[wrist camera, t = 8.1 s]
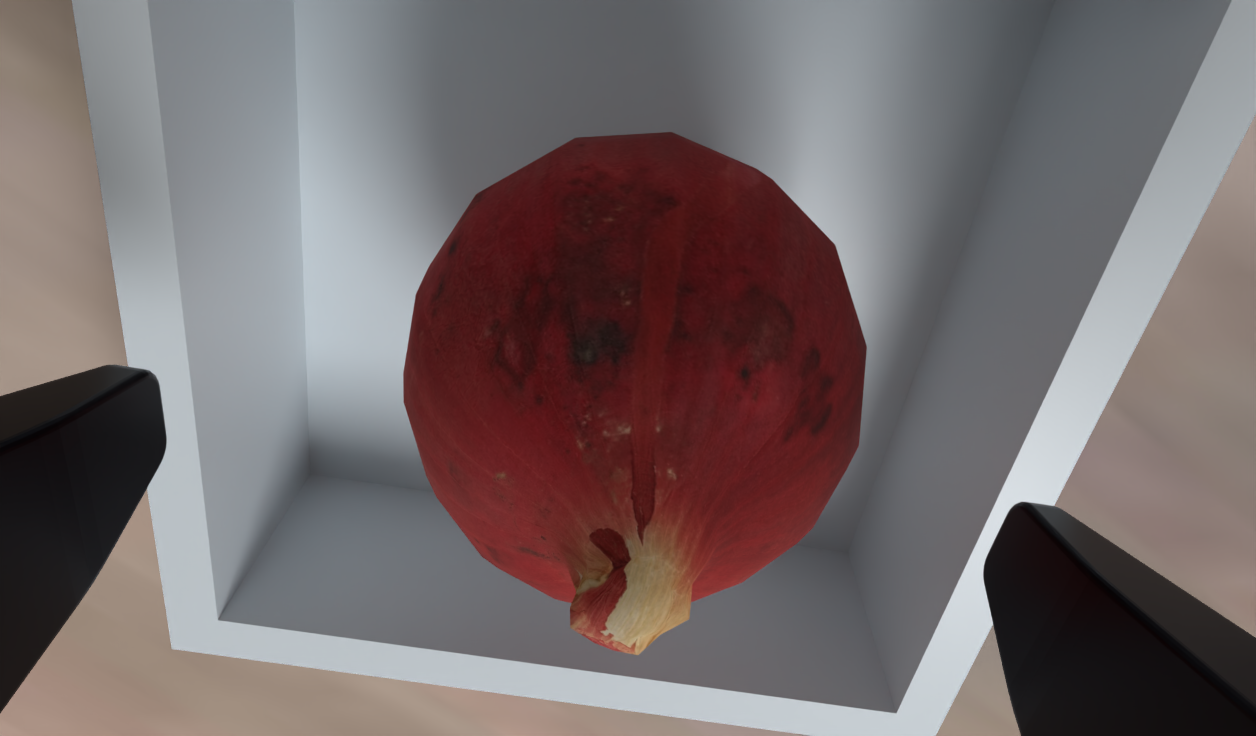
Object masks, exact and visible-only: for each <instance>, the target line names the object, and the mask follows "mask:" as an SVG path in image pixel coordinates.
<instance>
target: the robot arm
mask: <svg viewBox="0 0 1256 736" xmlns="http://www.w3.org/2000/svg"><path fill="white" fill-rule="evenodd" d="M166 444H167V436H166V428H165V421H164V413H163V406H162V398H161V391H160V385H159V381H158V379H157V377H156V375H154V374H153V373H152V372H151V371H149V370H146V369H140V368H134V367H127V366H120V365H106V366H102V367H98V368H95V369H92V370H88V371H85V372H81V373H78V374H74V375H71V376H68V377H64V378H61V379H57V380H54V381H50V382H47V383H44V384H40V385H37V386H33V387H30V388H26V389H23V390H20V391H16V392H13V393H9V394H6V395H3V396H0V713H1V712H2V710H3V709H4V707H5V706H6V705H7V703H8V702H9V701H10V699H11V698H12V696H13V695H14V694H15V692H16V691H17V689H18V688H19V687H20V685H21V684H22V682H23V681H24V680H25V678H26V677H27V675H28V674H29V673H30V671H31V670H32V668H33V667H34V666H35V664H36V663H37V662H38V660H39V659H40V657H41V656H42V655H43V653H44V652H45V650H46V649H47V648H48V646H49V645H50V643H51V642H52V641H53V639H54V638H55V636H56V635H57V634H58V632H59V631H60V629H61V628H62V627H63V625H64V624H65V622H66V621H67V620H68V618H69V617H70V616H71V614H72V613H73V611H74V610H75V609H76V607H77V606H78V604H79V603H80V601H81V600H82V598H83V597H84V596H85V594H86V593H87V591H88V590H89V588H90V587H91V585H92V584H93V582H94V580H95V579H96V577H97V575H98V574H99V572H100V571H101V569H102V567H103V566H104V564H105V562H106V560H107V559H108V557H109V555H110V553H111V551H112V550H113V548H114V546H115V544H116V543H117V541H118V539H119V537H120V535H121V534H122V532H123V530H124V528H125V527H126V525H127V523H128V521H129V519H130V518H131V516H132V514H133V512H134V511H135V509H136V507H137V505H138V503H139V502H140V500H141V498H142V496H143V494H144V493H145V491H146V489H147V487H148V486H149V484H150V482H151V480H152V478H153V477H154V475H155V473H156V471H157V470H158V468H159V466H160V464H161V462H162V460H163V457H164V454H165V450H166ZM983 579H984V585H985V590H986V594H987V599H988V603H989V608H990V612H991V617H992V621H993V625H994V630H995V634H996V639H997V643H998V648H999V652H1000V657H1001V661H1002V666H1003V670H1004V675H1005V679H1006V683H1007V688H1008V692H1009V696H1010V700H1011V703H1012V707H1013V711H1014V714H1015V718H1016V721H1017V724H1018V727H1019V730H1020V734H1021V736H1256V638H1255V637H1254V636H1252V635H1251V634H1249V633H1248V632H1246V631H1245V630H1243V629H1242V628H1240V627H1239V626H1237V625H1236V624H1234V623H1233V622H1231V621H1230V620H1228V619H1226V618H1225V617H1223V616H1222V615H1220V614H1219V613H1217V612H1216V611H1214V610H1213V609H1211V608H1210V607H1208V606H1207V605H1205V604H1204V603H1202V602H1201V601H1199V600H1198V599H1196V598H1195V597H1193V596H1192V595H1190V594H1189V593H1187V592H1186V591H1184V590H1183V589H1181V588H1180V587H1178V586H1177V585H1175V584H1174V583H1172V582H1171V581H1169V580H1168V579H1166V578H1165V577H1163V576H1162V575H1160V574H1159V573H1157V572H1156V571H1154V570H1153V569H1151V568H1149V567H1148V566H1146V565H1145V564H1143V563H1142V562H1140V561H1139V560H1137V559H1136V558H1134V557H1133V556H1131V555H1130V554H1128V553H1127V552H1125V551H1124V550H1122V549H1121V548H1119V547H1118V546H1116V545H1115V544H1113V543H1112V542H1110V541H1109V540H1107V539H1106V538H1104V537H1103V536H1101V535H1100V534H1098V533H1097V532H1095V531H1094V530H1092V529H1091V528H1089V527H1088V526H1086V525H1085V524H1083V523H1082V522H1080V521H1079V520H1077V519H1076V518H1074V517H1072V516H1071V515H1069V514H1068V513H1066V512H1065V511H1063V510H1062V509H1060V508H1058V507H1055V506H1051V505H1045V504H1038V503H1031V502H1019V503H1017V504H1015V505H1014V506H1013V507H1012V508H1011V509H1010V510H1009V512H1008V513H1007V515H1006V517H1005V519H1004V522H1003V524H1002V526H1001V528H1000V530H999V532H998V534H997V536H996V538H995V540H994V542H993V544H992V546H991V548H990V550H989V553H988V555H987V557H986V560H985V563H984V569H983Z"/></svg>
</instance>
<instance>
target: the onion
mask: <svg viewBox="0 0 1256 736" xmlns="http://www.w3.org/2000/svg"><path fill="white" fill-rule="evenodd" d="M866 353H867V345H866V342H865V339H864V336H863V332H862V329H861V326H860V323H859V319H858V316H857V313H856V310H855V307H854V303H853V300H852V297H851V294H850V291H849V287H848V284H847V281H846V278H845V275H844V271H843V268H842V265H841V262H840V259H839V255H838V252H837V249H836V246H835V244H834V243H833V242H832V241H831V240H830V239H829V238H828V237H827V236H826V235H825V234H824V232H823V231H822V230H821V229H820V228H819V227H818V226H817V225H816V224H815V223H814V222H813V221H812V220H811V219H810V218H809V217H808V216H807V215H806V214H805V213H804V212H803V211H802V210H801V209H800V207H799V206H798V205H797V204H796V203H795V202H794V201H793V200H792V199H791V198H790V197H789V196H788V195H787V194H786V193H785V192H784V191H783V190H782V189H781V188H780V187H779V186H778V185H777V184H776V183H775V181H774V180H773V179H771V178H770V177H768V176H767V175H765V174H764V173H762V172H761V171H759V170H758V169H756V168H754V167H752V166H749V165H747V164H745V163H742V162H740V161H738V160H735V159H733V158H731V157H729V156H726V155H724V154H722V153H719V152H717V151H715V150H712V149H710V148H708V147H705V146H703V145H701V144H698V143H696V142H694V141H691V140H689V139H687V138H685V137H682V136H680V135H678V134H675V133H673V132H662V133H645V134H628V135H611V136H594V137H577V138H574V139H572V140H570V141H569V142H567V143H565V144H563V145H562V146H560V147H558V148H556V149H555V150H553V151H551V152H549V153H547V154H546V155H544V156H542V157H540V158H539V159H537V160H535V161H533V162H532V163H530V164H528V165H526V166H525V167H523V168H521V169H519V170H517V171H516V172H514V173H512V174H510V175H509V176H507V177H505V178H503V179H502V180H500V181H498V182H496V183H495V184H493V185H491V186H489V187H488V188H486V189H484V190H482V191H480V192H479V193H477V194H476V195H475V196H474V198H473V200H472V201H471V203H470V204H469V206H468V207H467V209H466V210H465V212H464V213H463V215H462V216H461V218H460V219H459V221H458V223H457V224H456V226H455V227H454V229H453V230H452V232H451V233H450V235H449V236H448V238H447V239H446V241H445V242H444V244H443V246H442V247H441V249H440V250H439V252H438V253H437V255H436V256H435V258H434V259H433V261H432V262H431V264H430V266H429V267H428V269H427V271H426V274H425V276H424V278H423V280H422V282H421V284H420V286H419V288H418V291H417V293H416V296H415V303H414V309H413V315H412V321H411V328H410V334H409V340H408V347H407V353H406V359H405V365H404V372H403V398H404V405H405V408H406V412H407V415H408V418H409V421H410V425H411V428H412V431H413V434H414V438H415V441H416V444H417V447H418V451H419V454H420V457H421V460H422V464H423V467H424V470H425V474H426V476H427V478H428V481H429V483H430V485H431V487H432V489H433V491H434V493H435V495H436V497H437V499H438V500H439V501H440V503H441V504H442V505H443V507H444V508H445V509H446V511H447V512H448V513H449V514H450V516H451V517H452V518H453V520H454V521H455V522H456V524H457V525H458V526H459V528H460V529H461V530H462V532H463V533H464V534H465V535H466V537H467V538H468V539H469V541H470V542H471V543H472V545H473V546H474V547H475V549H476V550H477V551H478V552H479V554H480V555H481V556H482V557H483V558H484V559H486V560H487V561H488V562H490V563H491V564H493V565H494V566H495V567H497V568H498V569H500V570H502V571H504V572H506V573H508V574H509V575H511V576H513V577H515V578H517V579H519V580H520V581H522V582H524V583H526V584H528V585H530V586H531V587H533V588H535V589H537V590H539V591H541V592H542V593H544V594H546V595H548V596H550V597H552V598H553V599H556V600H560V601H564V602H568V603H572V604H571V606H570V628H571V629H573V630H574V631H576V632H578V633H579V634H581V635H582V636H584V637H586V638H587V639H589V640H590V641H592V642H594V643H595V644H598V645H601V646H603V647H606V648H608V649H611V650H613V651H618V652H624V653H629V654H634V655H639V654H640V653H641V652H642V651H643V650H644V649H645V648H647V647H648V646H649V645H650V644H651V643H652V642H653V641H654V640H655V639H656V638H657V637H658V636H660V635H661V634H663V633H665V632H666V631H668V630H670V629H672V628H674V627H676V626H678V625H680V624H681V623H683V622H685V621H687V620H689V617H690V606H691V602H694V601H696V600H699V599H701V598H704V597H706V596H709V595H711V594H714V593H717V592H719V591H722V590H724V589H727V588H730V587H732V586H735V585H737V584H740V583H742V582H744V581H745V580H747V579H748V578H749V577H751V576H752V575H754V574H755V573H756V572H758V571H759V570H761V569H762V568H763V567H765V566H766V565H768V564H769V563H770V562H772V561H773V560H775V559H776V558H777V557H779V556H780V555H782V554H783V553H784V552H786V551H787V550H789V549H790V548H791V547H793V546H794V545H796V544H797V543H798V542H799V541H800V540H801V539H802V538H803V537H804V536H805V535H806V534H807V533H808V532H809V531H810V530H811V529H812V528H813V527H814V525H815V523H816V522H817V520H818V518H819V517H820V515H821V513H822V511H823V510H824V508H825V506H826V504H827V503H828V501H829V499H830V498H831V496H832V494H833V492H834V491H835V489H836V487H837V485H838V484H839V482H840V480H841V479H842V477H843V475H844V473H845V472H846V470H847V468H848V466H849V464H850V462H851V460H852V458H853V456H854V454H855V452H856V451H857V449H858V447H859V439H860V427H861V414H862V402H863V390H864V377H865V365H866Z"/></svg>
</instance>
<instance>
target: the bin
mask: <svg viewBox="0 0 1256 736" xmlns="http://www.w3.org/2000/svg"><path fill="white" fill-rule="evenodd" d="M72 5H73V12H74V18H75V25H76V31H77V38H78V44H79V51H80V57H81V64H82V70H83V77H84V83H85V90H86V96H87V103H88V109H89V115H90V122H91V128H92V135H93V141H94V148H95V154H96V161H97V167H98V174H99V180H100V187H101V193H102V200H103V206H104V213H105V219H106V226H107V232H108V239H109V245H110V251H111V258H112V264H113V271H114V277H115V284H116V290H117V297H118V303H119V310H120V316H121V323H122V329H123V336H124V342H125V349H126V355H127V362H128V367H134V368H140V369H146V370H149V371H151V372H152V373H153V374H154V375H156V377H157V379H158V381H159V385H160V391H161V398H162V406H163V413H164V421H165V428H166V436H167V444H166V450H165V454H164V457H163V460H162V462H161V464H160V466H159V468H158V470H157V471H156V473H155V475H154V477H153V478H152V480H151V482H150V484H149V486H148V487H147V491H148V498H149V504H150V511H151V517H152V523H153V530H154V536H155V543H156V549H157V556H158V562H159V569H160V575H161V582H162V588H163V595H164V601H165V608H166V614H167V621H168V627H169V634H170V640H171V647H172V649H176V650H183V651H191V652H198V653H205V654H213V655H220V656H228V657H235V658H242V659H250V660H257V661H264V662H272V663H279V664H287V665H294V666H301V667H309V668H316V669H324V670H331V671H338V672H346V673H353V674H360V675H368V676H375V677H383V678H390V679H397V680H405V681H412V682H420V683H427V684H434V685H442V686H449V687H456V688H464V689H471V690H479V691H486V692H493V693H501V694H508V695H516V696H523V697H530V698H538V699H545V700H552V701H560V702H567V703H575V704H582V705H589V706H597V707H604V708H611V709H619V710H626V711H634V712H641V713H648V714H656V715H663V716H671V717H678V718H685V719H693V720H700V721H707V722H715V723H722V724H730V725H737V726H744V727H752V728H759V729H767V730H774V731H781V732H789V733H796V734H803V735H811V736H936V734H937V732H938V730H939V728H940V726H941V724H942V722H943V720H944V718H945V717H946V715H947V713H948V711H949V709H950V707H951V705H952V703H953V701H954V699H955V697H956V695H957V693H958V691H959V689H960V687H961V685H962V683H963V682H964V680H965V678H966V676H967V674H968V672H969V670H970V668H971V666H972V664H973V662H974V660H975V658H976V656H977V654H978V652H979V650H980V649H981V647H982V645H983V643H984V641H985V639H986V637H987V635H988V633H989V631H990V629H991V627H992V625H993V621H992V617H991V612H990V608H989V603H988V599H987V594H986V590H985V585H984V579H983V569H984V563H985V560H986V557H987V555H988V553H989V550H990V548H991V546H992V544H993V542H994V540H995V538H996V536H997V534H998V532H999V530H1000V528H1001V526H1002V524H1003V522H1004V519H1005V517H1006V515H1007V513H1008V512H1009V510H1010V509H1011V508H1012V507H1013V506H1014V505H1015V504H1017V503H1019V502H1031V503H1038V504H1045V505H1051V506H1054V505H1055V503H1056V501H1057V499H1058V497H1059V495H1060V493H1061V491H1062V489H1063V487H1064V485H1065V483H1066V481H1067V480H1068V478H1069V476H1070V474H1071V472H1072V470H1073V468H1074V466H1075V464H1076V462H1077V460H1078V458H1079V456H1080V454H1081V452H1082V450H1083V448H1084V447H1085V445H1086V443H1087V441H1088V439H1089V437H1090V435H1091V433H1092V431H1093V429H1094V427H1095V425H1096V423H1097V421H1098V419H1099V417H1100V415H1101V413H1102V412H1103V410H1104V408H1105V406H1106V404H1107V402H1108V400H1109V398H1110V396H1111V394H1112V392H1113V390H1114V388H1115V386H1116V384H1117V382H1118V380H1119V379H1120V377H1121V375H1122V373H1123V371H1124V369H1125V367H1126V365H1127V363H1128V361H1129V359H1130V357H1131V355H1132V353H1133V351H1134V349H1135V347H1136V346H1137V344H1138V342H1139V340H1140V338H1141V336H1142V334H1143V332H1144V330H1145V328H1146V326H1147V324H1148V322H1149V320H1150V318H1151V316H1152V314H1153V312H1154V311H1155V309H1156V307H1157V305H1158V303H1159V301H1160V299H1161V297H1162V295H1163V293H1164V291H1165V289H1166V287H1167V285H1168V283H1169V281H1170V279H1171V278H1172V276H1173V274H1174V272H1175V270H1176V268H1177V266H1178V264H1179V262H1180V260H1181V258H1182V256H1183V254H1184V252H1185V250H1186V248H1187V246H1188V245H1189V243H1190V241H1191V239H1192V237H1193V235H1194V233H1195V231H1196V229H1197V227H1198V225H1199V223H1200V221H1201V219H1202V217H1203V215H1204V213H1205V211H1206V210H1207V208H1208V206H1209V204H1210V202H1211V200H1212V198H1213V196H1214V194H1215V192H1216V190H1217V188H1218V186H1219V184H1220V182H1221V180H1222V178H1223V177H1224V175H1225V173H1226V171H1227V169H1228V167H1229V165H1230V163H1231V161H1232V159H1233V157H1234V155H1235V153H1236V151H1237V149H1238V147H1239V145H1240V144H1241V142H1242V140H1243V138H1244V136H1245V134H1246V132H1247V130H1248V128H1249V126H1250V124H1251V122H1252V120H1253V118H1254V116H1255V114H1256V0H72ZM662 132H673V133H675V134H678V135H680V136H682V137H685V138H687V139H689V140H691V141H694V142H696V143H698V144H701V145H703V146H705V147H708V148H710V149H712V150H715V151H717V152H719V153H722V154H724V155H726V156H729V157H731V158H733V159H735V160H738V161H740V162H742V163H745V164H747V165H749V166H752V167H754V168H756V169H758V170H759V171H761V172H762V173H764V174H765V175H767V176H768V177H770V178H771V179H773V180H774V181H775V183H776V184H777V185H778V186H779V187H780V188H781V189H782V190H783V191H784V192H785V193H786V194H787V195H788V196H789V197H790V198H791V199H792V200H793V201H794V202H795V203H796V204H797V205H798V206H799V207H800V209H801V210H802V211H803V212H804V213H805V214H806V215H807V216H808V217H809V218H810V219H811V220H812V221H813V222H814V223H815V224H816V225H817V226H818V227H819V228H820V229H821V230H822V231H823V232H824V234H825V235H826V236H827V237H828V238H829V239H830V240H831V241H832V242H833V243H834V244H835V246H836V249H837V252H838V255H839V259H840V262H841V265H842V268H843V271H844V275H845V278H846V281H847V284H848V287H849V291H850V294H851V297H852V300H853V303H854V307H855V310H856V313H857V316H858V319H859V323H860V326H861V329H862V332H863V336H864V339H865V342H866V345H867V353H866V365H865V377H864V390H863V402H862V414H861V427H860V439H859V447H858V449H857V451H856V452H855V454H854V456H853V458H852V460H851V462H850V464H849V466H848V468H847V470H846V472H845V473H844V475H843V477H842V479H841V480H840V482H839V484H838V485H837V487H836V489H835V491H834V492H833V494H832V496H831V498H830V499H829V501H828V503H827V504H826V506H825V508H824V510H823V511H822V513H821V515H820V517H819V518H818V520H817V522H816V523H815V525H814V527H813V528H812V529H811V530H810V531H809V532H808V533H807V534H806V535H805V536H804V537H803V538H802V539H801V540H800V541H799V542H798V543H797V544H796V545H794V546H793V547H791V548H790V549H789V550H787V551H786V552H784V553H783V554H782V555H780V556H779V557H777V558H776V559H775V560H773V561H772V562H770V563H769V564H768V565H766V566H765V567H763V568H762V569H761V570H759V571H758V572H756V573H755V574H754V575H752V576H751V577H749V578H748V579H747V580H745V581H744V582H742V583H740V584H737V585H735V586H732V587H730V588H727V589H724V590H722V591H719V592H717V593H714V594H711V595H709V596H706V597H704V598H701V599H699V600H696V601H694V602H691V606H690V617H689V620H687V621H685V622H683V623H681V624H680V625H678V626H676V627H674V628H672V629H670V630H668V631H666V632H665V633H663V634H661V635H660V636H658V637H657V638H656V639H655V640H654V641H653V642H652V643H651V644H650V645H649V646H648V647H647V648H645V649H644V650H643V651H642V652H641V653H640V654H639V655H634V654H629V653H624V652H618V651H613V650H611V649H608V648H606V647H603V646H601V645H598V644H595V643H594V642H592V641H590V640H589V639H587V638H586V637H584V636H582V635H581V634H579V633H578V632H576V631H574V630H573V629H571V628H570V606H571V604H572V603H568V602H564V601H560V600H556V599H553V598H552V597H550V596H548V595H546V594H544V593H542V592H541V591H539V590H537V589H535V588H533V587H531V586H530V585H528V584H526V583H524V582H522V581H520V580H519V579H517V578H515V577H513V576H511V575H509V574H508V573H506V572H504V571H502V570H500V569H498V568H497V567H495V566H494V565H493V564H491V563H490V562H488V561H487V560H486V559H484V558H483V557H482V556H481V555H480V554H479V552H478V551H477V550H476V549H475V547H474V546H473V545H472V543H471V542H470V541H469V539H468V538H467V537H466V535H465V534H464V533H463V532H462V530H461V529H460V528H459V526H458V525H457V524H456V522H455V521H454V520H453V518H452V517H451V516H450V514H449V513H448V512H447V511H446V509H445V508H444V507H443V505H442V504H441V503H440V501H439V500H438V499H437V497H436V495H435V493H434V491H433V489H432V487H431V485H430V483H429V481H428V478H427V476H426V474H425V470H424V467H423V464H422V460H421V457H420V454H419V451H418V447H417V444H416V441H415V438H414V434H413V431H412V428H411V425H410V421H409V418H408V415H407V412H406V408H405V405H404V398H403V372H404V365H405V359H406V353H407V347H408V340H409V334H410V328H411V321H412V315H413V309H414V303H415V296H416V293H417V291H418V288H419V286H420V284H421V282H422V280H423V278H424V276H425V274H426V271H427V269H428V267H429V266H430V264H431V262H432V261H433V259H434V258H435V256H436V255H437V253H438V252H439V250H440V249H441V247H442V246H443V244H444V242H445V241H446V239H447V238H448V236H449V235H450V233H451V232H452V230H453V229H454V227H455V226H456V224H457V223H458V221H459V219H460V218H461V216H462V215H463V213H464V212H465V210H466V209H467V207H468V206H469V204H470V203H471V201H472V200H473V198H474V196H475V195H476V194H477V193H479V192H480V191H482V190H484V189H486V188H488V187H489V186H491V185H493V184H495V183H496V182H498V181H500V180H502V179H503V178H505V177H507V176H509V175H510V174H512V173H514V172H516V171H517V170H519V169H521V168H523V167H525V166H526V165H528V164H530V163H532V162H533V161H535V160H537V159H539V158H540V157H542V156H544V155H546V154H547V153H549V152H551V151H553V150H555V149H556V148H558V147H560V146H562V145H563V144H565V143H567V142H569V141H570V140H572V139H574V138H577V137H594V136H611V135H628V134H645V133H662Z"/></svg>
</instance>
